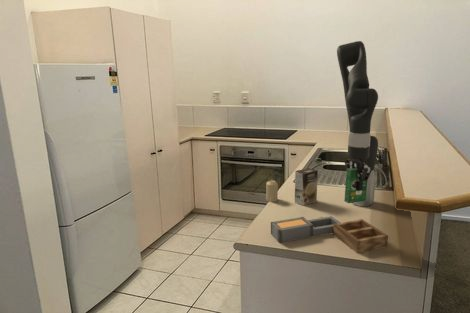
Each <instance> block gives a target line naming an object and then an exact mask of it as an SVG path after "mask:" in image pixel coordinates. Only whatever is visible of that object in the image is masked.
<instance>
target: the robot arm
mask: <svg viewBox="0 0 470 313" xmlns="http://www.w3.org/2000/svg"><path fill="white" fill-rule="evenodd" d="M336 55H337V62H338V67H339V71H340V74H341V80H342V85H343V86H342V87H343V93H344V101H345V106H346V111H347V117H348V124H349V125H348V126H349V134H348V140H347V141H348V142H347V157H348V158H349V159H344V166H345V171H346V173H347V169H348V168H355V170H356V175H357V181H356V190H357V191H361V190H362V189H363V181H367V190H366V201H360V202H354V203H352V204H353V205H354V206H358V207H369V206H372V205H374V204H375V203H374V202H375V188H376V185H375V184H374V181H375V180H374V177H375V167H376V163H377V159H378V158H377V157H378V151H379V140H378V138H377V136H374V135H371V125H372V124H371V123H372V118H373V115H374V112H375V108H376V106H377V104H378V100H379V94H378V91H377V90H376V89H375V88H372V87H370V81H369V78H368V70H367V69H368V67H367V65H368V62H367V51H366V47H365V44H364V42H363V41H361V40H358V41H353V42H347V43H343V44H340V45H338V46H337V48H336ZM349 67H352V68H351V69H350V71H349ZM359 172H361V173H359ZM360 175H361V178H360ZM364 177H365V178H364Z"/></svg>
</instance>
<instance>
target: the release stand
mask: <svg viewBox="0 0 470 313" xmlns="http://www.w3.org/2000/svg"><path fill="white" fill-rule="evenodd" d="M300 219H302V220H303V221H304V222H305V223H307V224H306V225H300V226H294V227H288V228H283V229H280V228H279V227H278V226H277V225H276V223H282V222H288V221H294V220H300ZM338 223H342V222H341V221H339V220H338V219H336V218H335V217H333V216H330V215H329V216H326V217H319V218H312V219H306V218H305V217H304V216H299V217H295V218H289V219H283V220H276V221H271V222H270V234H271V236H272V237H273V238H274V239H275V241H277V242H278V243H284V242H285V243H286V242H290V241H295V240H301V239H307V238H314V237H320V236H324V235H331V234H333V231H334V224H338Z"/></svg>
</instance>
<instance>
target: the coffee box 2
mask: <svg viewBox="0 0 470 313" xmlns="http://www.w3.org/2000/svg"><path fill="white" fill-rule="evenodd" d="M359 173H361V172H359ZM345 174H346V176H345V189H344V203H346V204H353V203H354V202H360V201H366V190H367V181H363V189H362V190H361V191H357V190H356V181H357V175H356V170H355V168H348V169H347V172H346V173H345ZM360 178H361V175H360ZM364 178H365V177H364Z"/></svg>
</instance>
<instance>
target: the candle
mask: <svg viewBox="0 0 470 313" xmlns="http://www.w3.org/2000/svg"><path fill="white" fill-rule="evenodd" d="M278 185H279V184H278V182H277V181H276V180H274V179H271V180H268V181H267V182H266V186H265V188H266V193H265V194H266V196H265V197H266V201H268V202H277V201H278V192H279V191H278Z"/></svg>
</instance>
